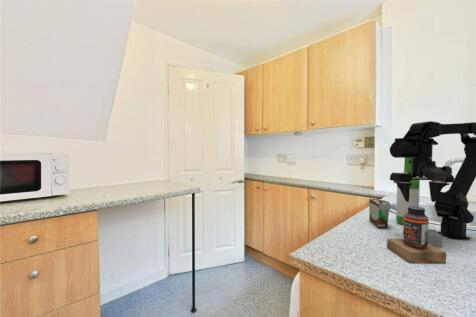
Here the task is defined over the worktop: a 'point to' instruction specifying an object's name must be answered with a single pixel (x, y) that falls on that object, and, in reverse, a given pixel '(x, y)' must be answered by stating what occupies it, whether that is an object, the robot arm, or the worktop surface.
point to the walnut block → (416, 252)
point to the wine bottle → (413, 196)
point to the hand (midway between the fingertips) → (420, 201)
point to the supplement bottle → (415, 227)
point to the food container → (379, 212)
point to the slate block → (434, 238)
